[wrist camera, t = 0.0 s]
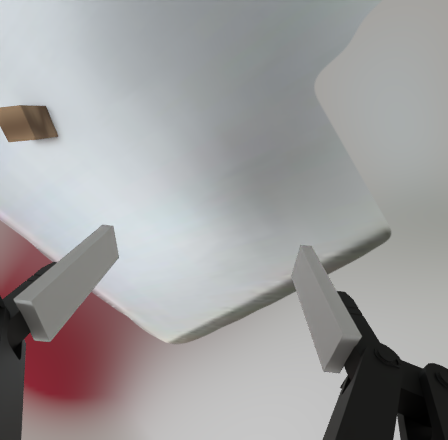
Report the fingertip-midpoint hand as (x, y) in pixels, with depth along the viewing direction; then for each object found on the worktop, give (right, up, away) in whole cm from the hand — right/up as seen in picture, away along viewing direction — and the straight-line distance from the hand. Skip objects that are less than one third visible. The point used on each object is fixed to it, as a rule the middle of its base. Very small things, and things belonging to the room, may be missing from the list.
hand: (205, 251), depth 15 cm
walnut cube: (-32, +20, +23) cm, 45 cm away
